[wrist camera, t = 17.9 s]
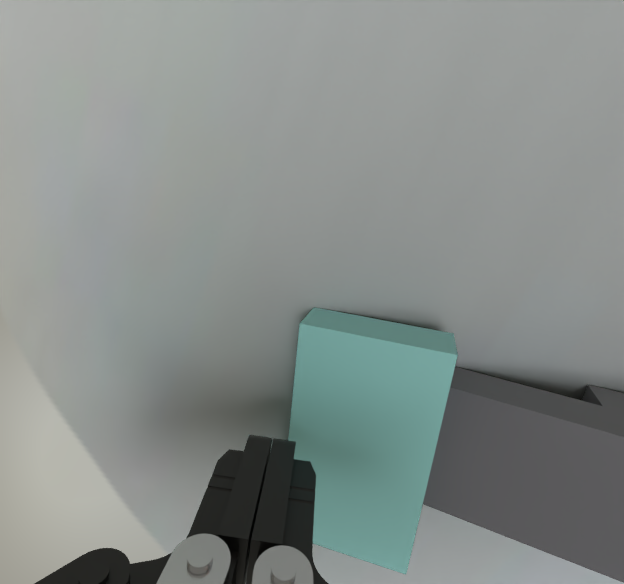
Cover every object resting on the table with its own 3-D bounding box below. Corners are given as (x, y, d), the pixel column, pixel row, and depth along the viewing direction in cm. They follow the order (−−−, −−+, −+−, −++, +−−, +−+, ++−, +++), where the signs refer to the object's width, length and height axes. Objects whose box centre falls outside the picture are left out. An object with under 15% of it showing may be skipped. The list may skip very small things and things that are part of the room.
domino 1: (293, 498, 17) (314, 307, 14) (407, 533, 16) (453, 333, 13) (279, 531, 16) (299, 323, 13) (406, 574, 14) (457, 355, 12)
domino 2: (453, 366, 15) (759, 448, 12) (426, 472, 16) (693, 569, 13) (450, 387, 13) (804, 488, 10) (421, 503, 15) (723, 621, 12)
